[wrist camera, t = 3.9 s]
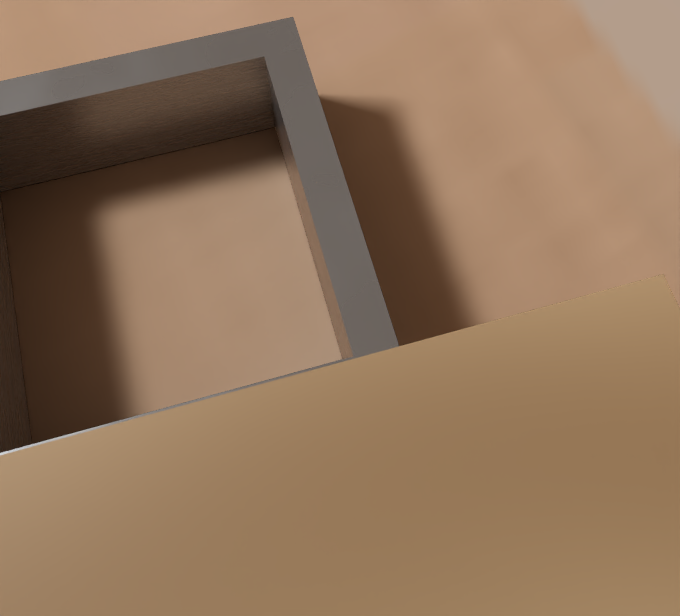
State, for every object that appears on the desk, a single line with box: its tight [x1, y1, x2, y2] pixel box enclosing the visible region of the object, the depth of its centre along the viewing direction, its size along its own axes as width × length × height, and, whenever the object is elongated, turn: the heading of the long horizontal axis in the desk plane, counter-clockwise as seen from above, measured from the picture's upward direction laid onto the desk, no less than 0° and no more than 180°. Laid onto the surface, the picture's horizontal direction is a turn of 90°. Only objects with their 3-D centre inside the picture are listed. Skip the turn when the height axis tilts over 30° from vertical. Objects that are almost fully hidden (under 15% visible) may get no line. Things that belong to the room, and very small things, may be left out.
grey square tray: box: [0, 17, 399, 455], centre depth 16 cm, size 10×10×3 cm
